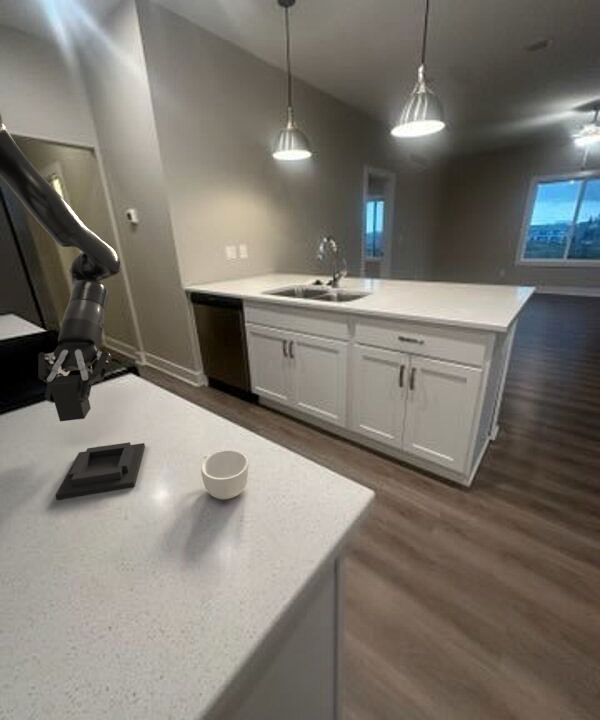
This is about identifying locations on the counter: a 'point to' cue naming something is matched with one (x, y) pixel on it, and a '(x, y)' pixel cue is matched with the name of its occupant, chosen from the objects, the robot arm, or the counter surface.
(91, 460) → the base pad
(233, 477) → the teacup
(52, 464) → the counter surface
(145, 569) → the counter surface
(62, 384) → the dark grey rectangular block
